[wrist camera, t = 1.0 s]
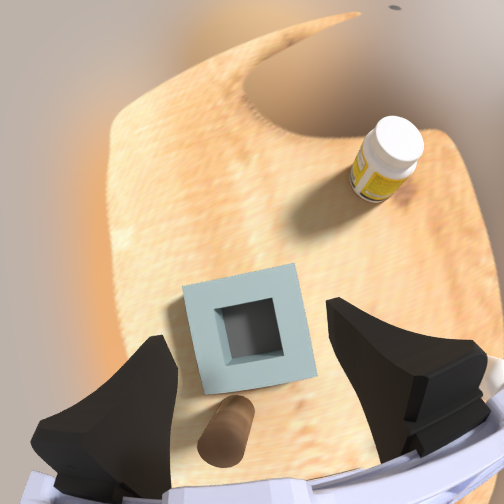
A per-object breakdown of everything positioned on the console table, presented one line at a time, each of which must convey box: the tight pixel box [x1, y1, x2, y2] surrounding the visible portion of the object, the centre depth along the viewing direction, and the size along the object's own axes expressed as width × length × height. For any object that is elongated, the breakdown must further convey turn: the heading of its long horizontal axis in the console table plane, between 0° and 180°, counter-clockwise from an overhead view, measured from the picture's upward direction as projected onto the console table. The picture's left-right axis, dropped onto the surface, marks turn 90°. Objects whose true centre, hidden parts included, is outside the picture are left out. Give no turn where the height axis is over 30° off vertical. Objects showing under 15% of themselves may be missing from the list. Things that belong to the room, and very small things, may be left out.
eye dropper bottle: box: [479, 355, 504, 401], centre depth 16 cm, size 4×6×12 cm
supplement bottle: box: [349, 116, 424, 203], centre depth 22 cm, size 5×5×8 cm
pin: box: [197, 395, 255, 468], centre depth 20 cm, size 3×3×8 cm
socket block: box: [182, 263, 317, 395], centre depth 24 cm, size 9×9×4 cm
